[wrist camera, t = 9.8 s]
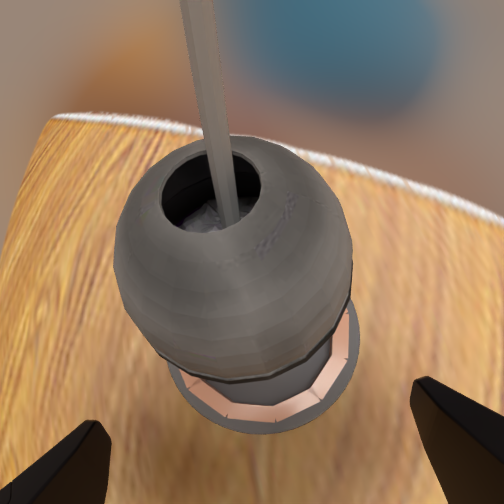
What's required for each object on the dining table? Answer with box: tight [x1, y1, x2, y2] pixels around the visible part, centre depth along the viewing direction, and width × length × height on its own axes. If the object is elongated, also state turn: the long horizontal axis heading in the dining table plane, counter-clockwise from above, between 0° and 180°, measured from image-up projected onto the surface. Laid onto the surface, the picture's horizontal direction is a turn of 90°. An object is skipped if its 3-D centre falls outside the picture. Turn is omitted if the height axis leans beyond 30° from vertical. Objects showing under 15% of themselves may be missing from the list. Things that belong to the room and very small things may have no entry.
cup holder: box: [167, 298, 360, 434], centre depth 20 cm, size 13×13×2 cm
